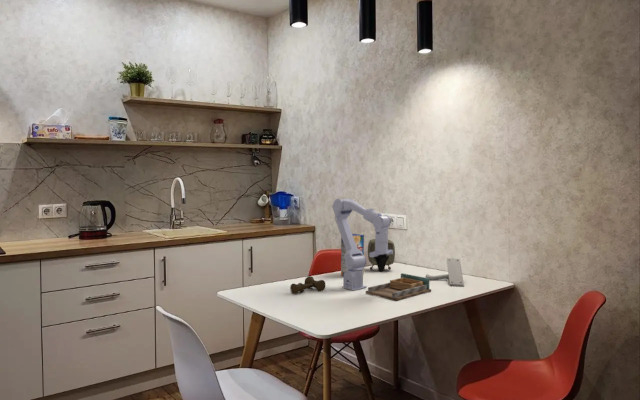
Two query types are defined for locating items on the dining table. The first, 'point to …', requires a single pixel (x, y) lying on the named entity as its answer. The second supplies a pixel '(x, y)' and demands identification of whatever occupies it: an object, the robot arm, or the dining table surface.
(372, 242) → the tabletop clock
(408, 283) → the box
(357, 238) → the beverage box
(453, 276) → the door handle
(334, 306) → the dining table surface
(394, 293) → the bay
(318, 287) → the brown knobbed bar
